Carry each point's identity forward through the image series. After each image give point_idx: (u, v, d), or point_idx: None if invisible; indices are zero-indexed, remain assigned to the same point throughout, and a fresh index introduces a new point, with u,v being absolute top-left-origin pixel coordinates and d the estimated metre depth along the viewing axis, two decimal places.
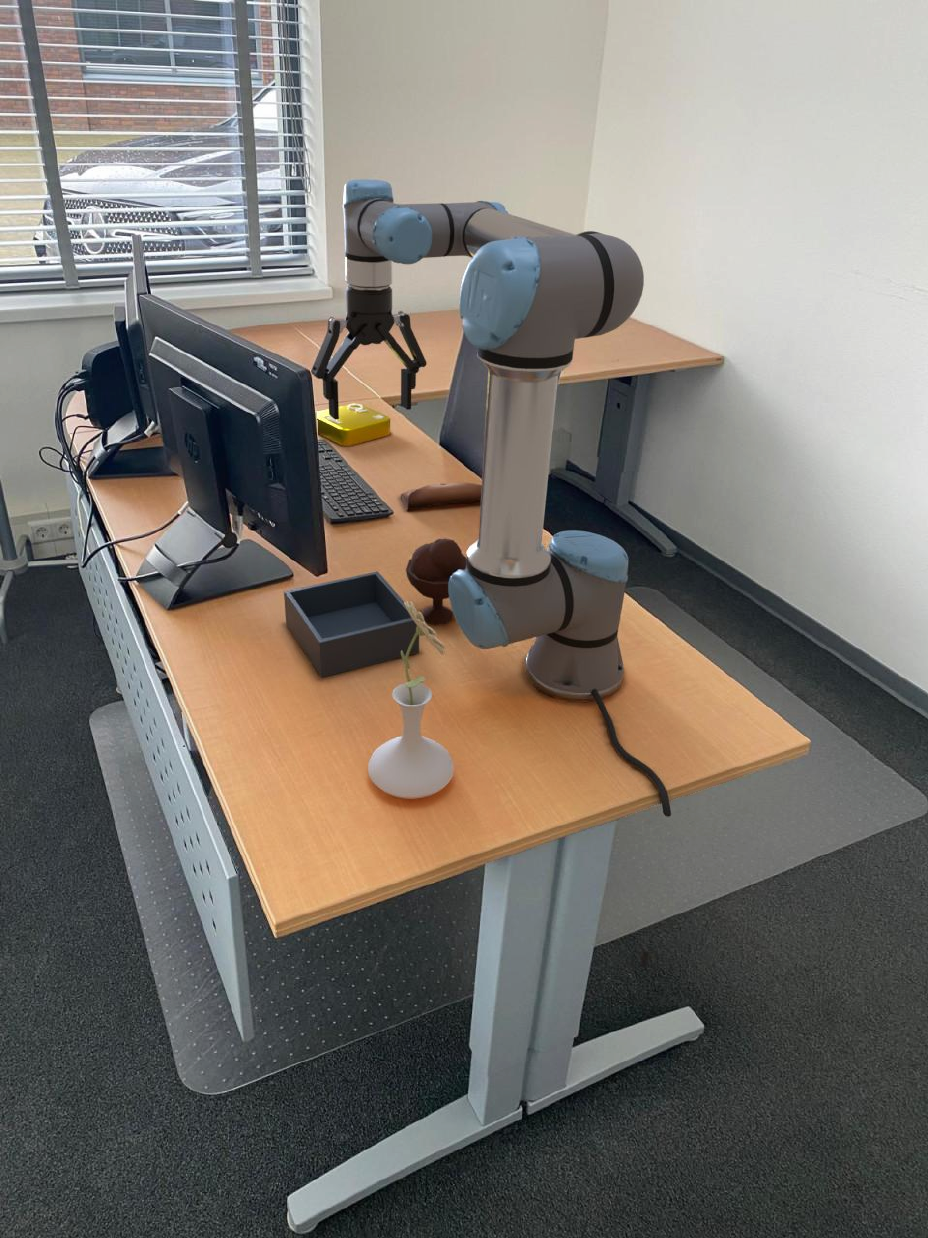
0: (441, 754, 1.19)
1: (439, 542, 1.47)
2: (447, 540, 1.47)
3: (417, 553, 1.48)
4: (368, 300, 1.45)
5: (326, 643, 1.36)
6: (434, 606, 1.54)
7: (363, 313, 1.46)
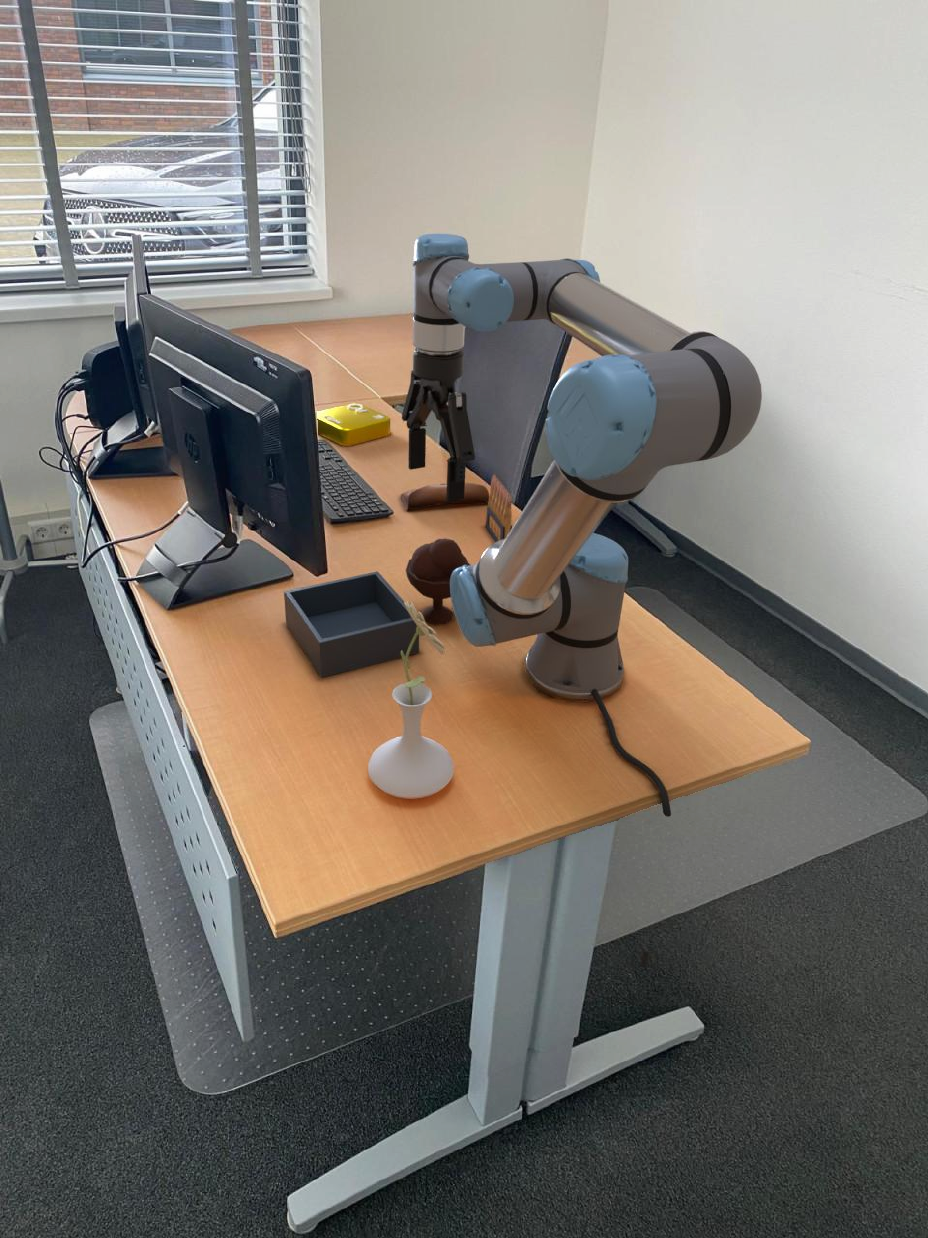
0: (441, 754, 1.19)
1: (439, 542, 1.47)
2: (447, 540, 1.47)
3: (417, 553, 1.48)
4: (413, 358, 1.34)
5: (326, 643, 1.36)
6: (434, 606, 1.54)
7: None
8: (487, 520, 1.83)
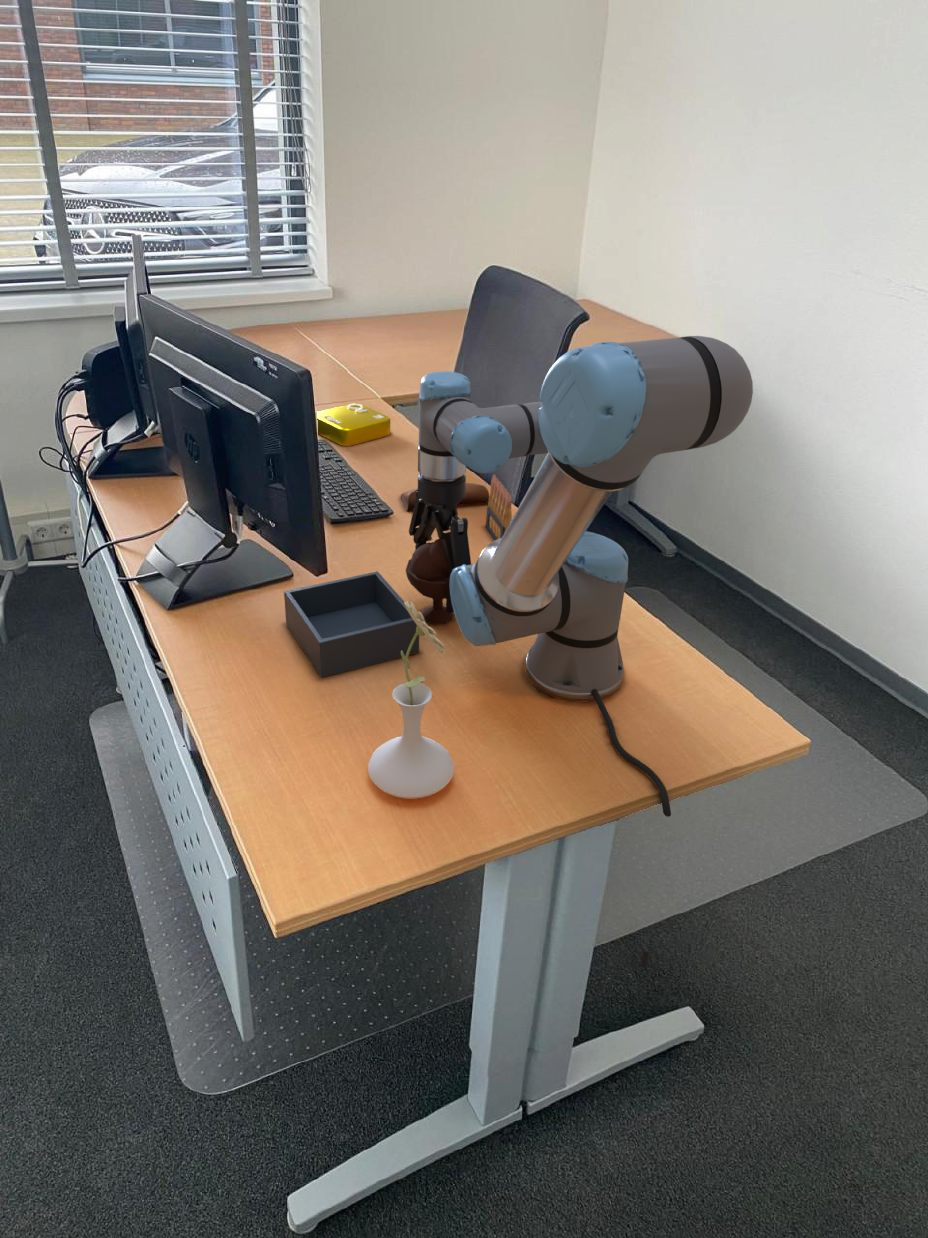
0: (441, 754, 1.19)
1: (439, 542, 1.47)
2: None
3: (417, 553, 1.48)
4: None
5: (326, 643, 1.36)
6: (434, 606, 1.54)
7: None
8: (487, 520, 1.83)
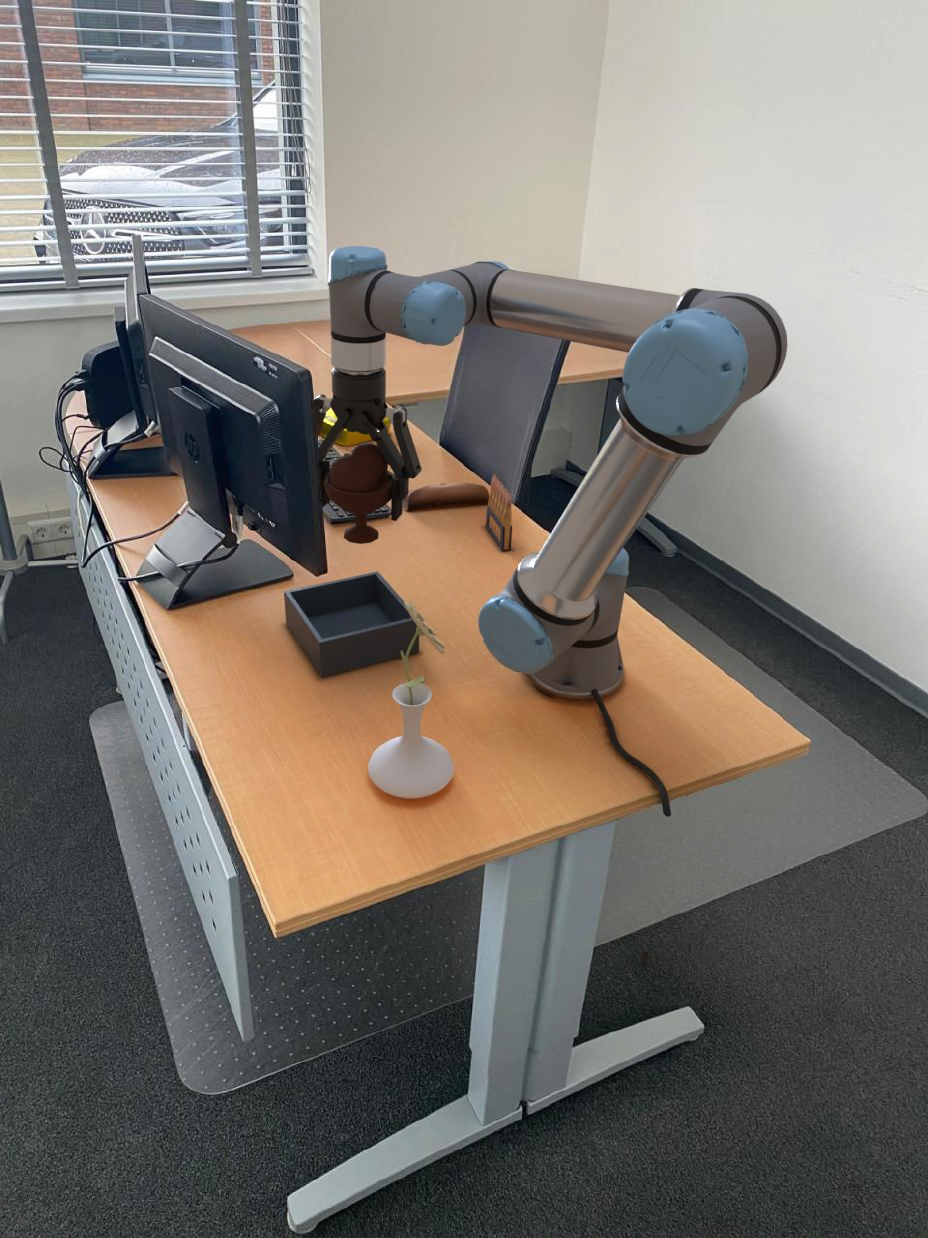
0: (441, 754, 1.19)
1: (364, 447, 1.31)
2: (369, 443, 1.32)
3: (344, 467, 1.31)
4: (338, 383, 1.24)
5: (326, 643, 1.36)
6: (360, 524, 1.38)
7: (335, 396, 1.26)
8: (487, 520, 1.83)
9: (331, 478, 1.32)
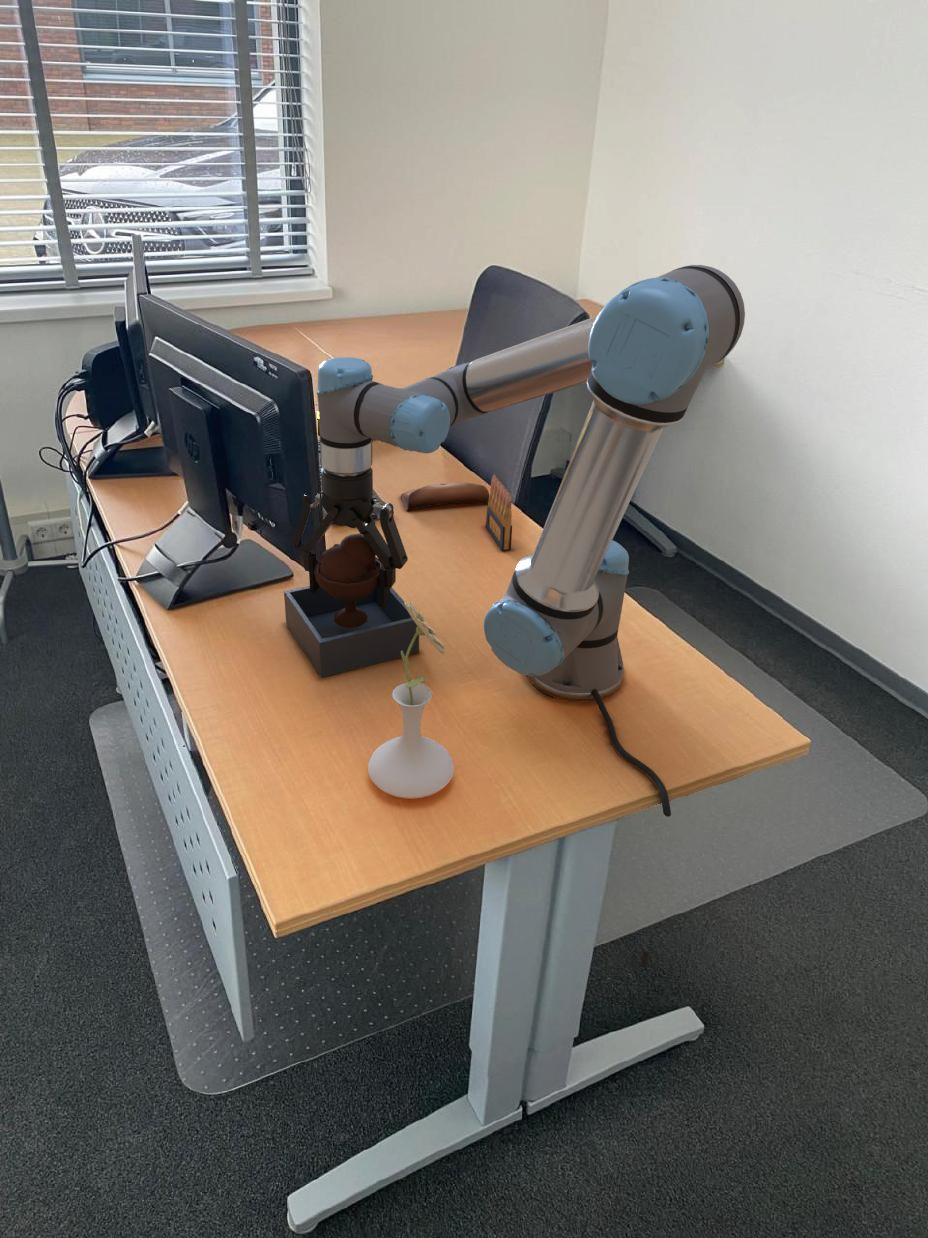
0: (441, 754, 1.19)
1: (352, 539, 1.38)
2: (357, 535, 1.39)
3: (334, 559, 1.37)
4: (327, 483, 1.31)
5: (326, 643, 1.36)
6: (350, 609, 1.45)
7: (325, 494, 1.33)
8: (487, 520, 1.83)
9: (321, 569, 1.39)
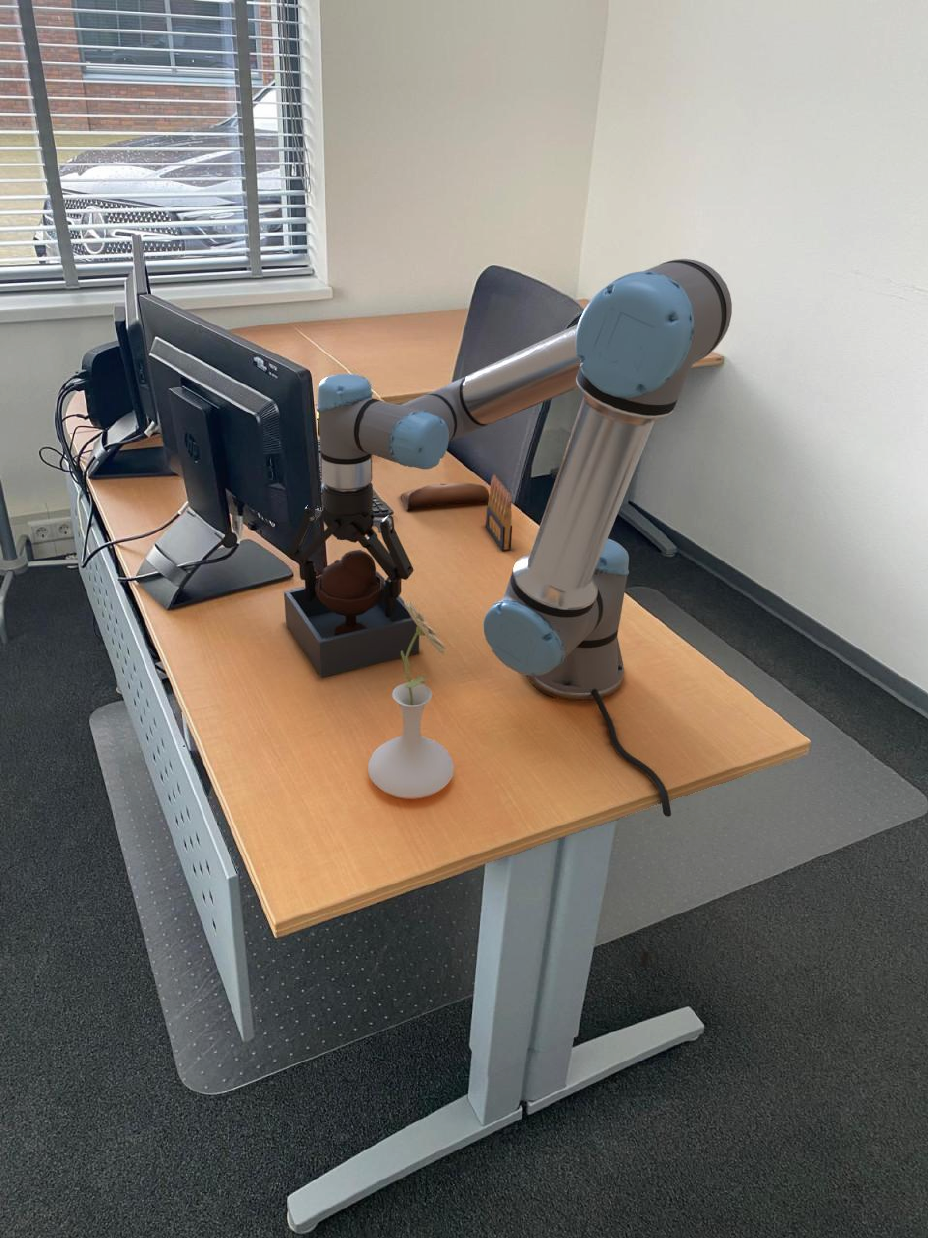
0: (441, 754, 1.19)
1: (353, 556, 1.39)
2: (358, 551, 1.40)
3: (335, 575, 1.39)
4: (328, 498, 1.32)
5: (326, 643, 1.36)
6: (350, 624, 1.46)
7: (326, 509, 1.34)
8: (487, 520, 1.83)
9: (322, 584, 1.40)
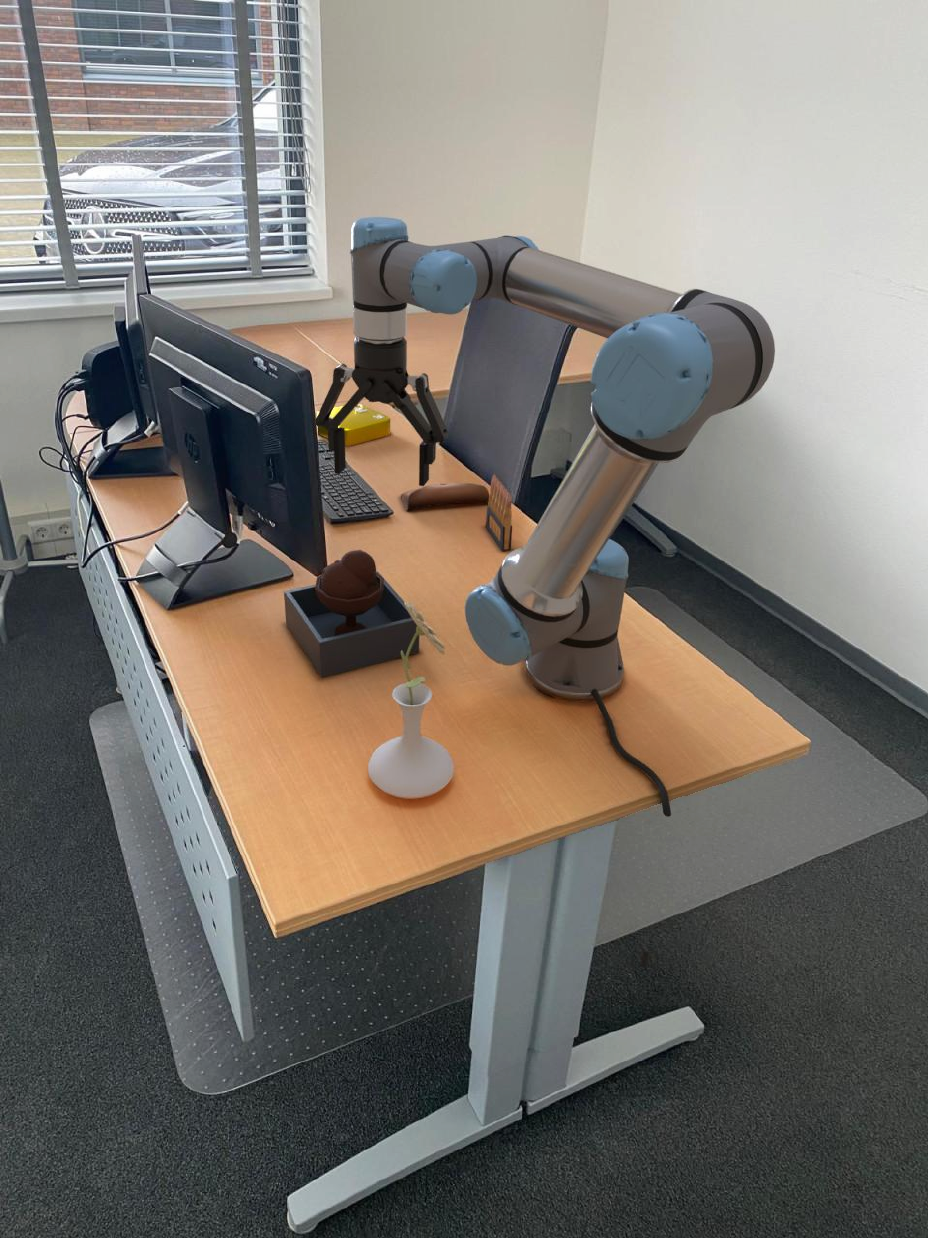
0: (441, 754, 1.19)
1: (353, 556, 1.39)
2: (358, 551, 1.40)
3: (335, 575, 1.39)
4: (361, 352, 1.27)
5: (326, 643, 1.36)
6: (350, 624, 1.46)
7: (358, 366, 1.28)
8: (487, 520, 1.83)
9: (322, 584, 1.40)
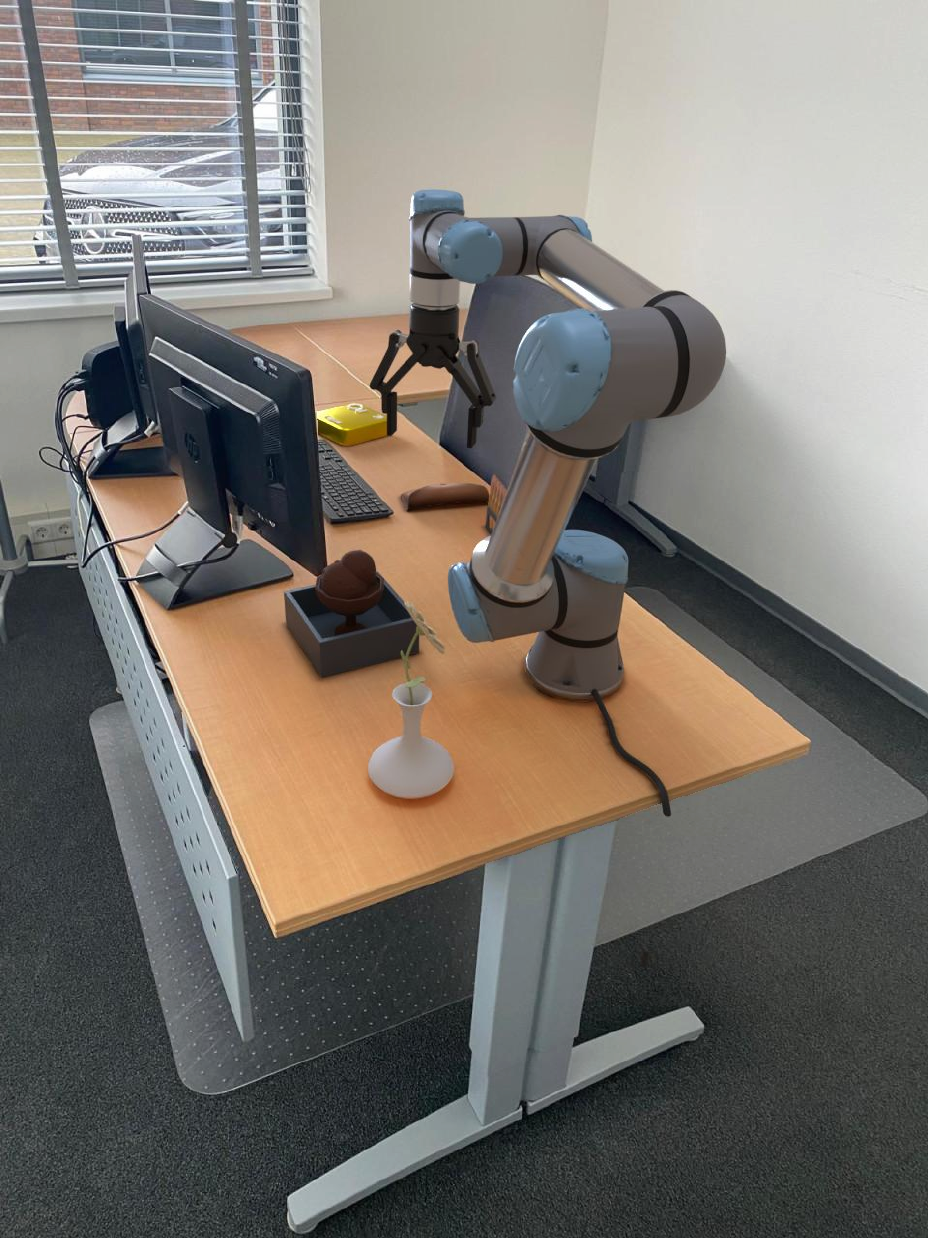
0: (441, 754, 1.19)
1: (353, 556, 1.39)
2: (358, 551, 1.40)
3: (335, 575, 1.39)
4: (416, 318, 1.34)
5: (326, 643, 1.36)
6: (350, 624, 1.46)
7: (413, 331, 1.36)
8: (487, 520, 1.83)
9: (322, 584, 1.40)
